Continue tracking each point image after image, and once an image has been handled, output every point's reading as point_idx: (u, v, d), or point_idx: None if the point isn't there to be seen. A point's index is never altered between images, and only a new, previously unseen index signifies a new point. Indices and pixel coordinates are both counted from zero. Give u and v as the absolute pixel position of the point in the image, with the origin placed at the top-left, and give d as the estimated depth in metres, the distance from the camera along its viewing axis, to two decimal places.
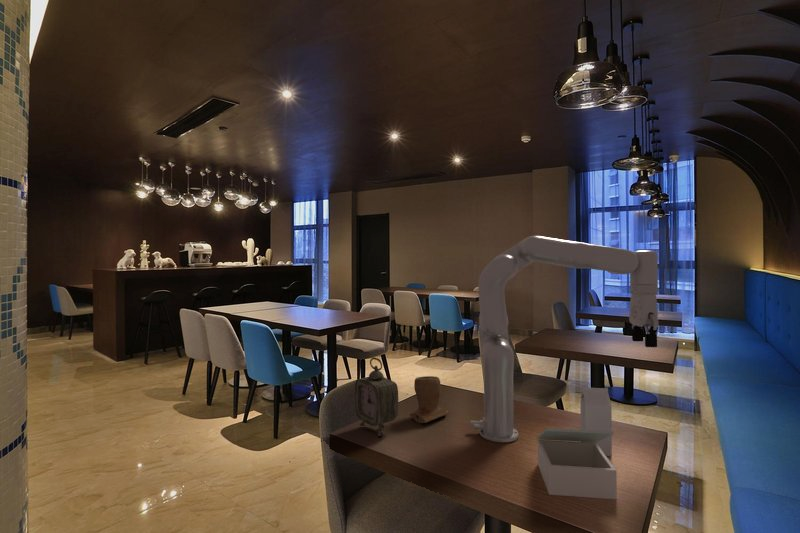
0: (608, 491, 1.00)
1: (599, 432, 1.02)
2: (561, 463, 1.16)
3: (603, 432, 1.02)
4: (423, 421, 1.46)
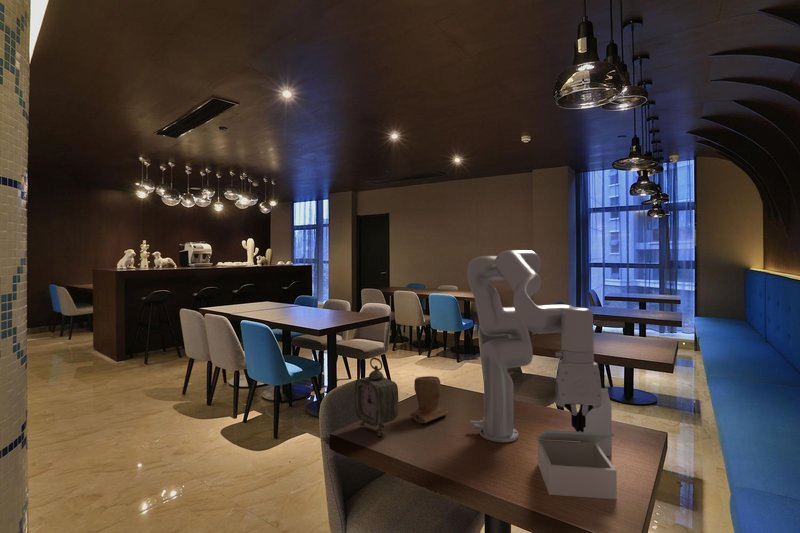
0: (608, 491, 1.00)
1: (599, 434, 1.02)
2: (561, 463, 1.16)
3: (603, 434, 1.02)
4: (423, 421, 1.46)
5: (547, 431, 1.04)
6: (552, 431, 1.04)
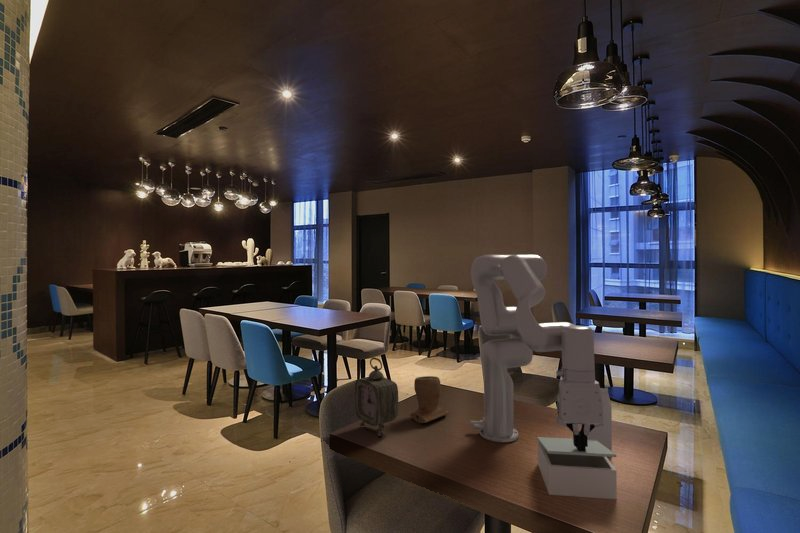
0: (608, 491, 1.00)
1: (602, 455, 1.01)
2: (561, 463, 1.16)
3: (606, 455, 1.00)
4: (423, 421, 1.46)
5: (548, 452, 1.02)
6: (554, 452, 1.02)
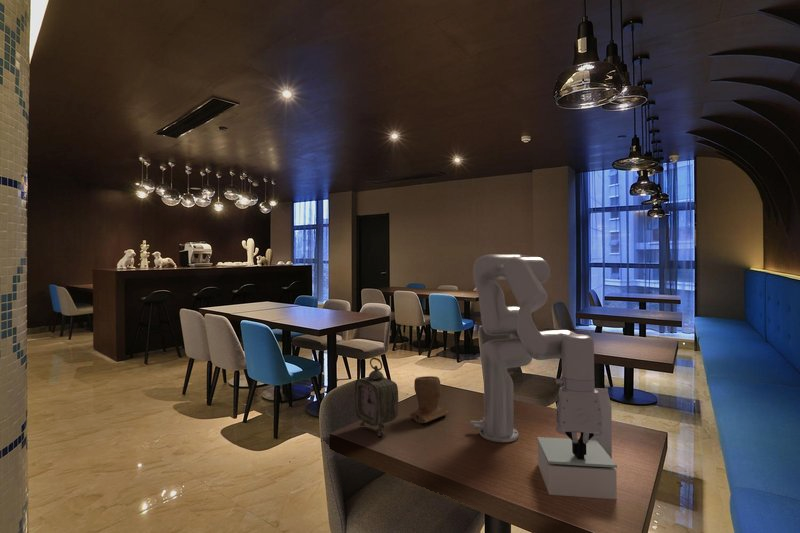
0: (608, 491, 1.00)
1: (602, 465, 1.00)
2: None
3: (606, 466, 1.00)
4: (423, 421, 1.46)
5: (549, 462, 1.02)
6: (554, 462, 1.02)
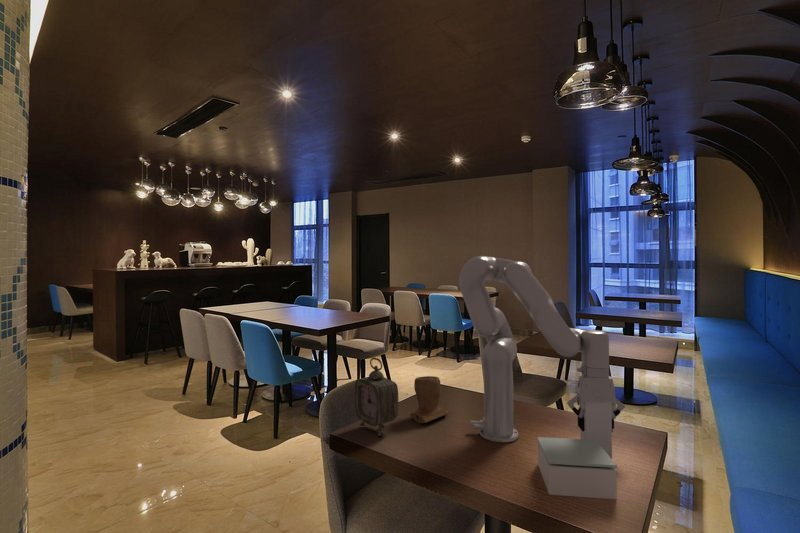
0: (608, 491, 1.00)
1: (602, 466, 1.00)
2: None
3: (606, 466, 1.00)
4: (423, 421, 1.46)
5: (549, 462, 1.02)
6: (554, 462, 1.02)
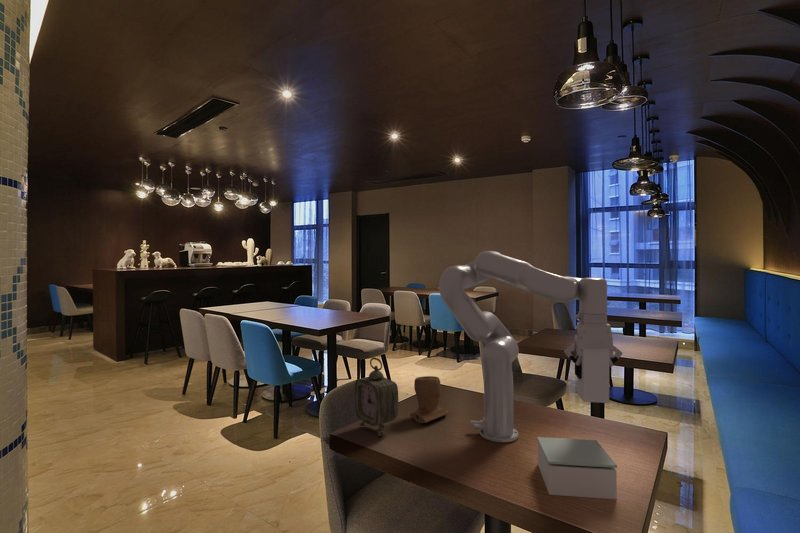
0: (608, 491, 1.00)
1: (602, 466, 1.00)
2: None
3: (606, 466, 1.00)
4: (423, 421, 1.46)
5: (549, 462, 1.02)
6: (554, 462, 1.02)
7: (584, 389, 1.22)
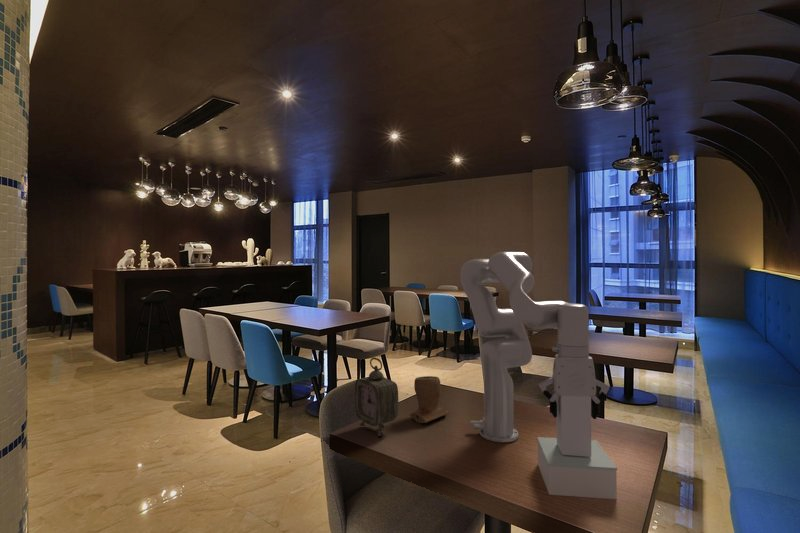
0: (608, 491, 1.00)
1: (602, 468, 1.00)
2: None
3: (606, 468, 1.00)
4: (423, 421, 1.46)
5: (549, 465, 1.02)
6: (554, 465, 1.02)
7: (563, 440, 1.06)
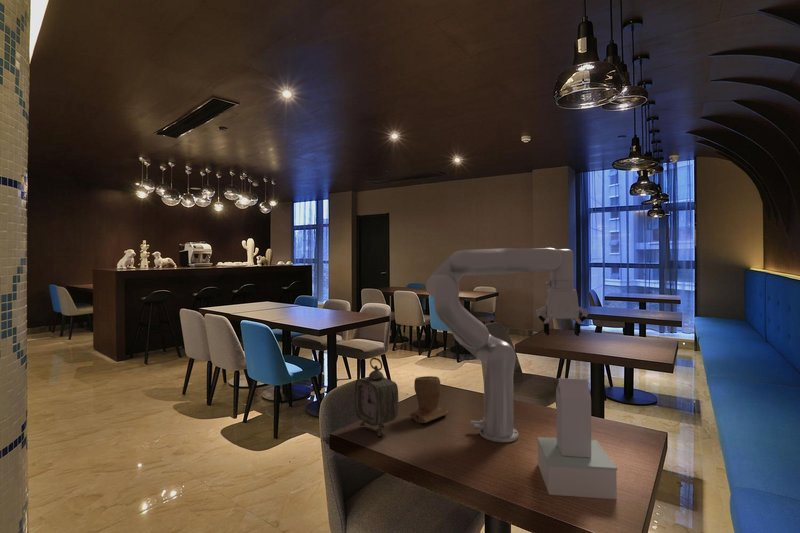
0: (608, 491, 1.00)
1: (602, 468, 1.00)
2: None
3: (606, 468, 1.00)
4: (423, 421, 1.46)
5: (549, 465, 1.02)
6: (554, 465, 1.02)
7: (563, 441, 1.06)
